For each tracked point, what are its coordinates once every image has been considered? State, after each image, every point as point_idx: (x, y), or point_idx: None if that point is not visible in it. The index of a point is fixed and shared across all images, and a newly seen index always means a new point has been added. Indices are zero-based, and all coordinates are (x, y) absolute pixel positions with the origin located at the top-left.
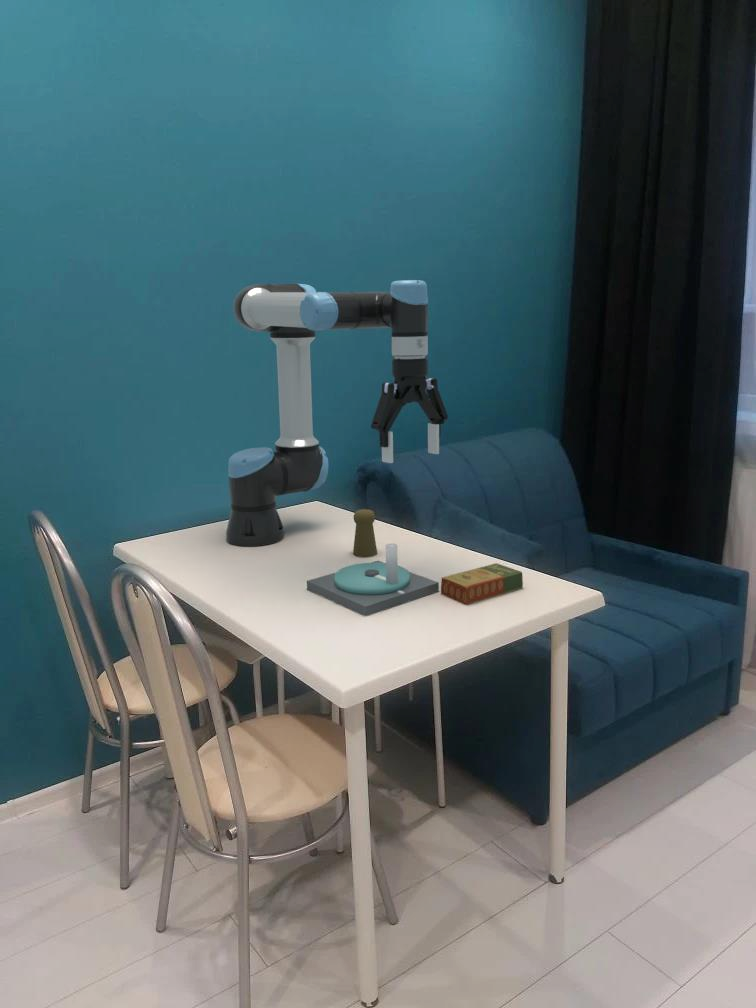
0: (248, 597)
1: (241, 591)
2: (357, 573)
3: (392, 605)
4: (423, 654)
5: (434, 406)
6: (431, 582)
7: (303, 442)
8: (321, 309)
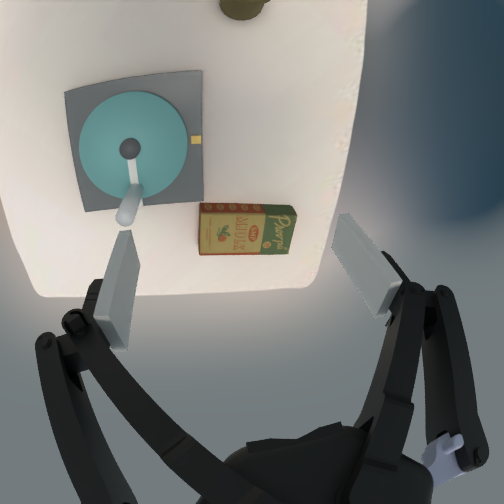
0: (11, 84)
1: (13, 60)
2: (115, 132)
3: None
4: None
5: (439, 345)
6: (196, 195)
7: None
8: None
